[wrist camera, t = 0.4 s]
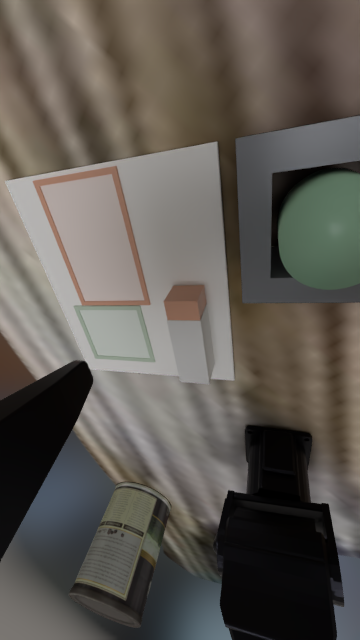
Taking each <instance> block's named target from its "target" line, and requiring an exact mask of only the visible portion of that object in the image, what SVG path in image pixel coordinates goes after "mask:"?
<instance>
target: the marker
mask: <svg viewBox="0 0 360 640" xmlns="http://www.w3.org/2000/svg"><path fill="white" fill-rule="evenodd" d="M163 302H164V306H165V311H166V315H167V324H168V329H169V333H170V338H171V342H172V347H173V352H174V356H175V361H176V365H177V370H178V374H179V379H180V382H188V383H200V384H210V380H211V376H212V372H213V368H214V364H215V363H214V355H213V347H212V338H211V330H210V322H209V314H208V305H207V303H206V295H205V287H204V285H183V286H173V287H172V289H171V290H170V292H169V293H168V295H167V297H166V298H165V300H164V301H163Z"/></svg>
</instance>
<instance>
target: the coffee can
mask: <svg viewBox="0 0 360 640" xmlns="http://www.w3.org/2000/svg"><path fill="white" fill-rule="evenodd" d="M170 510H171V505H170V503H169V502H168V500H167V499H166V498H165V497H164V496H163V495H162V494H160V493H159V492H157V491H155V490H154V489H152V488H149V487H147V486H144V485H141V484H138V483H132V482H123V483H119V484H118V485H117V486H116V487H115V491H114V493H113V496H112V498H111V500H110V503H109V505H108V507H107V510H106V512H105V514H104V517H103V519H102V521H101V523H100V526H99V528H98V530H97V532H96V535H95V537H94V540H93V542H92V544H91V547H90V549H89V551H88V553H87V556H86V558H85V560H84V563H83V565H82V567H81V569H80V572H79V574H78V576H77V579H76V581H75V584H74V585H73V587H72V588H71V590H70V592H69V596H70V598H71V599H73V600H74V601H75V602H76V603H78V604H80V605H81V606H83V607H85V608H87V609H88V610H91V611H92V612H94V613H96V614H98V615H101V616H103V617H105V618H108V619H110V620H112V621H115V622H118V623H120V624H123V625H127V626H130V627H135V628H137V627H140V626H141V622H142V615H143V611H144V607H145V604H146V600H147V595H148V592H149V588H150V584H151V581H152V577H153V573H154V569H155V565H156V561H157V557H158V554H159V550H160V546H161V542H162V539H163V535H164V531H165V527H166V524H167V520H168V516H169V512H170Z"/></svg>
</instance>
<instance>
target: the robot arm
mask: <svg viewBox="0 0 360 640" xmlns="http://www.w3.org/2000/svg"><path fill="white" fill-rule="evenodd" d="M92 384H93V376H92V374H91V371H90V368H89V366H88V364H87V362H86V361H80V360H75V361H73V362H71V363H69V364H67V365H65V366H63V367H61V368H60V369H58V370H56V371H54V372H52V373H50V374H48V375H47V376H45V377H43V378H41V379H39V380H37V381H36V382H34V383H32V384H30V385H28V386H26V387H24V388H23V389H21V390H19V391H17V392H15V393H13V394H11V395H10V396H8V397H6V398H4V399H2V400H0V561H1V558H2V557H3V555H4V553H5V552H6V550H7V548H8V546H9V544H10V543H11V541H12V539H13V537H14V535H15V533H16V532H17V530H18V528H19V526H20V524H21V522H22V521H23V519H24V517H25V515H26V513H27V511H28V510H29V508H30V506H31V504H32V502H33V500H34V499H35V497H36V495H37V493H38V491H39V489H40V488H41V486H42V484H43V482H44V480H45V478H46V477H47V475H48V473H49V471H50V469H51V467H52V466H53V464H54V462H55V460H56V458H57V456H58V455H59V453H60V451H61V449H62V447H63V445H64V444H65V442H66V440H67V438H68V436H69V434H70V433H71V431H72V429H73V427H74V425H75V423H76V421H77V419H78V417H79V415H80V412H81V410H82V408H83V405H84V403H85V401H86V398H87V396H88V394H89V391H90V389H91V387H92ZM245 441H246V460H247V462H248V479H247V494H244V493H237V492H234V491H230V490H228V494H227V498H225V502H224V507H223V511H222V515H221V520H220V524H219V528H218V532H217V535H216V537H215V540H214V544H213V548H214V551H215V552H216V554H217V564H218V571H219V574H220V575H221V576H222V588H221V597H220V608H221V612H222V616H223V620H224V623H225V626H226V627H227V628H229V631H230V634H231V637H232V640H336V638H337V630H336V622H335V614H334V606H333V604H335V605H338V606H341V607H344V597H343V587H342V580H341V573H340V566H339V559H338V553H337V548H336V542H335V537H334V531H333V526H332V520H331V515H330V510H329V504H326V503H322V504H317V503H311V498H310V489H309V480H308V465H309V458H310V452H311V446H312V436H311V435H310V434H308V433H301V432H293V431H285V430H277V429H269V428H261V427H253V426H247V427H246V428H245Z"/></svg>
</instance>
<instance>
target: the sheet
mask: <svg viewBox="0 0 360 640" xmlns="http://www.w3.org/2000/svg"><path fill="white" fill-rule="evenodd" d="M5 183H6V185H7V188H8V190H9V192H10V194H11V196H12V199H13V201H14V203H15V205H16V208H17V210H18V212H19V214H20V217H21V219H22V221H23V223H24V225H25V228H26V230H27V232H28V234H29V237H30V239H31V241H32V243H33V246H34V248H35V250H36V252H37V254H38V257H39V259H40V261H41V263H42V266H43V268H44V270H45V272H46V275H47V277H48V279H49V281H50V283H51V286H52V288H53V290H54V292H55V295H56V297H57V299H58V301H59V304H60V306H61V308H62V310H63V312H64V315H65V317H66V319H67V321H68V324H69V326H70V328H71V330H72V333H73V335H74V337H75V339H76V341H77V344H78V346H79V348H80V350H81V353H82V355H83V357H84V359H85V361H86V362H87V364H88V366H89V368H90V369H93V370H106V371H118V372H131V373H144V374H157V375H169V376H179V374H178V370H177V365H176V361H175V356H174V352H173V347H172V342H171V338H170V333H169V329H168V324H167V315H166V311H165V306H164V302H163V301H164V300H165V298H166V297H167V295H168V293H169V292H170V290H171V289H172V287H173V286H183V285H204V287H205V295H206V303H207V305H208V314H209V322H210V330H211V338H212V347H213V355H214V363H215V364H214V368H213V372H212V376H211V379H220V380H233V381H234V380H235V372H234V358H233V344H232V330H231V316H230V302H229V288H228V274H227V260H226V246H225V232H224V219H223V205H222V191H221V177H220V163H219V149H218V141H217V142H212V143H207V144H201V145H196V146H191V147H185V148H180V149H174V150H169V151H164V152H158V153H153V154H148V155H142V156H137V157H132V158H126V159H121V160H116V161H110V162H105V163H99V164H94V165H89V166H83V167H78V168H73V169H67V170H62V171H57V172H51V173H46V174H40V175H35V176H30V177H24V178H19V179H14V180H8V181H5Z"/></svg>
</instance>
